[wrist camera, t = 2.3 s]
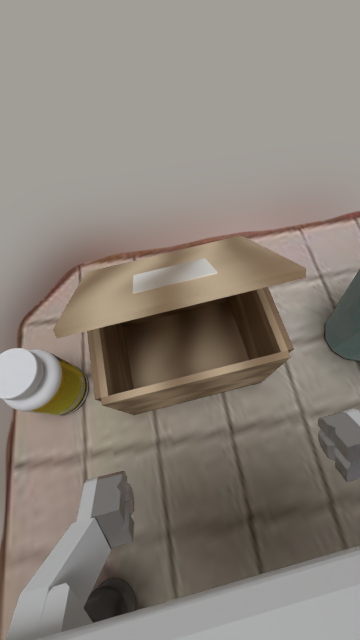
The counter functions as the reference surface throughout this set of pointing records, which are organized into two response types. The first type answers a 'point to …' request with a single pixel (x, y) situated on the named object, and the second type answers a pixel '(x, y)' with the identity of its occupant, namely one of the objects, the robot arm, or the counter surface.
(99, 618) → the beverage cup
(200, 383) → the cardboard carton
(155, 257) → the lid flap
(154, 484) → the counter surface
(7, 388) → the pill bottle
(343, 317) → the disposable coffee cup
